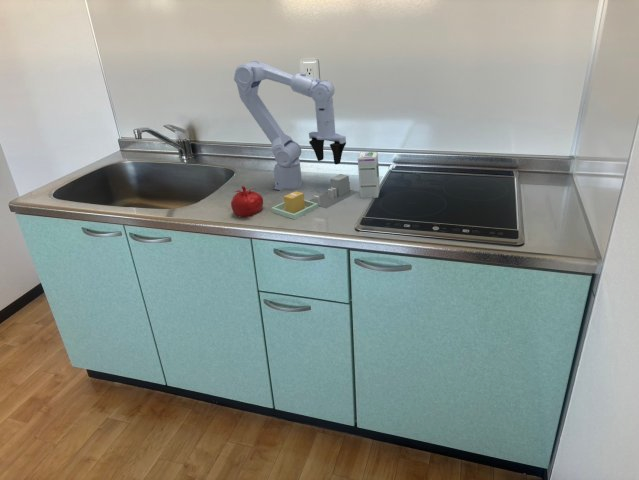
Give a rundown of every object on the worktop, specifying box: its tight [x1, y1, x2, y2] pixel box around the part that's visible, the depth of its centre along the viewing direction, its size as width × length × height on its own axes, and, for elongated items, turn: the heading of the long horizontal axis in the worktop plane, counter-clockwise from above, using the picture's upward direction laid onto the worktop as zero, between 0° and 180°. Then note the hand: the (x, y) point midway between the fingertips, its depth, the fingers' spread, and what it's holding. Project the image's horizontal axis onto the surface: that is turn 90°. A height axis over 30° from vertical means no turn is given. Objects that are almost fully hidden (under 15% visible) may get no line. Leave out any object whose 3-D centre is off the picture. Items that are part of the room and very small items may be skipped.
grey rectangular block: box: [329, 173, 351, 197], centre depth 159 cm, size 4×5×6 cm
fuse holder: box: [309, 181, 359, 209], centre depth 157 cm, size 9×16×4 cm, turn 137°
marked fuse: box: [283, 190, 306, 214], centre depth 150 cm, size 4×5×6 cm
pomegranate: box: [230, 185, 264, 218], centre depth 153 cm, size 10×10×9 cm
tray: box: [271, 199, 319, 220], centre depth 151 cm, size 10×10×3 cm
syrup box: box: [357, 151, 381, 199], centre depth 154 cm, size 6×6×14 cm
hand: (328, 161), depth 162 cm, fingers open, 7 cm apart
